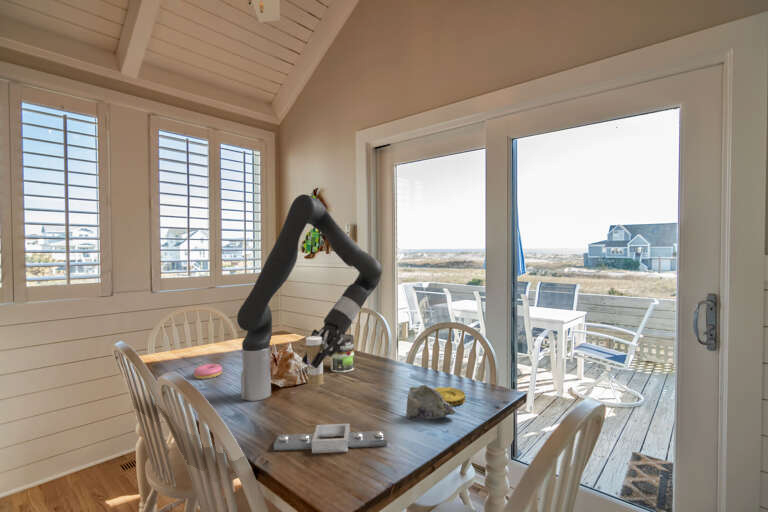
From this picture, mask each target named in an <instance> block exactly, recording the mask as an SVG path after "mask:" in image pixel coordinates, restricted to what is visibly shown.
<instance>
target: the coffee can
mask: <svg viewBox="0 0 768 512" xmlns="http://www.w3.org/2000/svg"><path fill="white" fill-rule="evenodd" d="M341 337H342V338H343V339H344V340H345V342H344V343H343V344H342V345H341V346H340V348H339V349H338V350H337V351H336V352H335V353H334V354H333V355H332V356H331V357H330V371H331V372H332V373H333V372H334V373H348V372H352V371H354V369H355V351H354V350H355V349H354V347H355V344H354V343H355V342H354V338H355V335H353V334H350V333H345V334H344V335H341ZM333 349H334V347H333V348H332V350H333ZM332 350H330V351H332Z"/></svg>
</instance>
